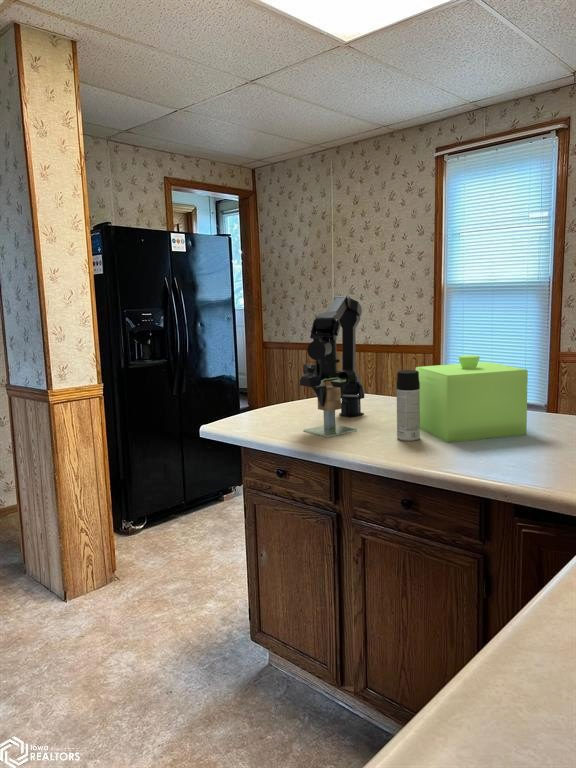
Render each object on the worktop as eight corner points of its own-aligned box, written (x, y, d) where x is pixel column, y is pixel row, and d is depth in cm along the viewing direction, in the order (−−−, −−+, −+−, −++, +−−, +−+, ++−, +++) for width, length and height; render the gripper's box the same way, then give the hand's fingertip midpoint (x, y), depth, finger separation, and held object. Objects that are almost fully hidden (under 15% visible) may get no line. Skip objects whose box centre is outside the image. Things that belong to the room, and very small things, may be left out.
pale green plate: (332, 424, 192) (331, 404, 191) (356, 430, 182) (356, 409, 181) (303, 431, 185) (302, 409, 184) (327, 437, 175) (326, 415, 174)
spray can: (421, 436, 172) (420, 369, 169) (418, 442, 166) (418, 373, 163) (398, 435, 174) (397, 369, 171) (395, 441, 168) (394, 372, 165)
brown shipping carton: (330, 406, 186) (329, 385, 185) (341, 408, 182) (340, 387, 181) (317, 409, 183) (317, 388, 182) (328, 411, 179) (327, 389, 178)
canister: (447, 442, 164) (446, 362, 161) (416, 426, 185) (415, 354, 181) (526, 435, 169) (528, 356, 165) (487, 420, 189) (488, 350, 186)
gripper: (333, 351, 192) (335, 398, 194) (288, 357, 181) (290, 406, 183) (356, 353, 183) (357, 402, 185) (310, 359, 172) (312, 411, 175)
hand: (329, 405), depth 182 cm, fingers closed on brown shipping carton, 5 cm apart
